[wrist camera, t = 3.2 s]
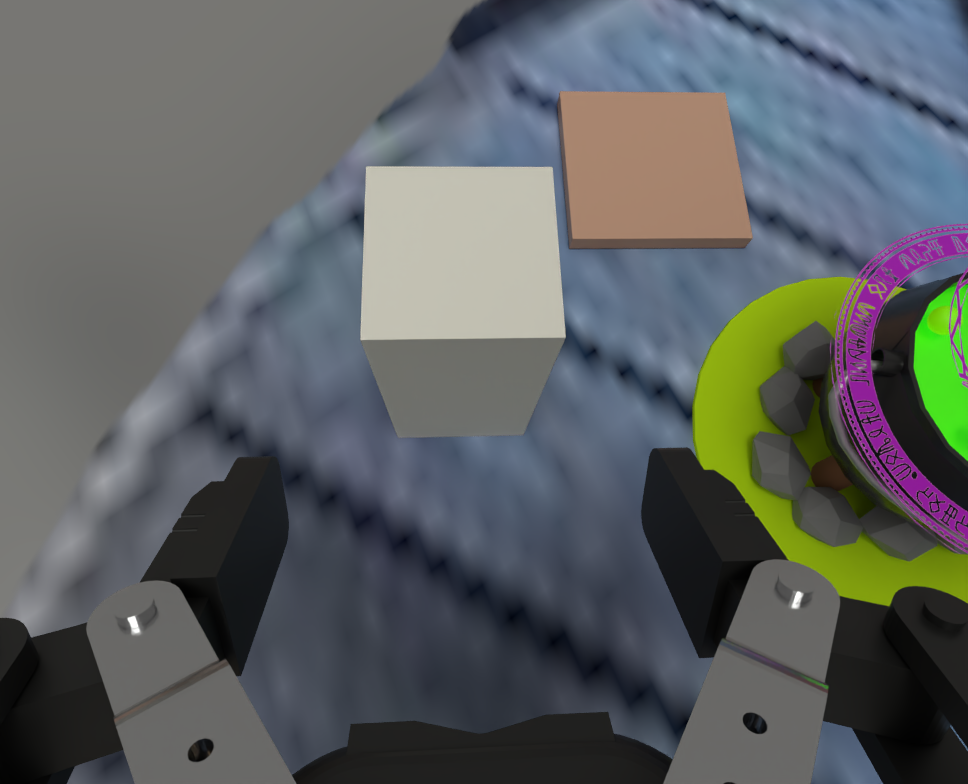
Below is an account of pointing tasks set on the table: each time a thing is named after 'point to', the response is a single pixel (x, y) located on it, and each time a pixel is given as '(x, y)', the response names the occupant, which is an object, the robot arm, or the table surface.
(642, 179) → the coaster
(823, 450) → the toy cauldron
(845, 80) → the table surface
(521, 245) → the plain off-white block
